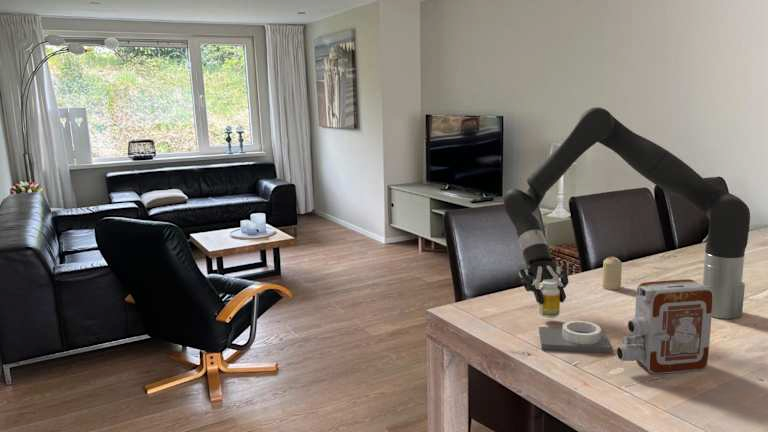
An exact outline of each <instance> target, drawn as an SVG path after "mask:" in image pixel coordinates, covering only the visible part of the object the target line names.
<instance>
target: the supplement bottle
mask: <svg viewBox="0 0 768 432" xmlns="http://www.w3.org/2000/svg"><path fill="white" fill-rule="evenodd" d="M552 279H553V278H552ZM552 279H547V280H543V281H542V282H541V286H542V287H541V288H540V289H541V292H542V295H543V299H544V303H543V304H541V305H540V304H539V303H538V304H539V306H538V307H539V308H538V309H539V315H540V316H541V317H545V318H549V319H550V318H557V317H559V316H560V310H561V309H560V307H561V306H560V303H561V302H560V291H559V289H558V288H557V286H558V284H557V281H556V280H552Z"/></svg>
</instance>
